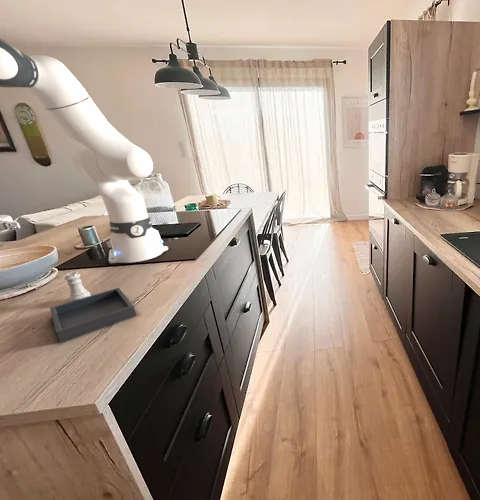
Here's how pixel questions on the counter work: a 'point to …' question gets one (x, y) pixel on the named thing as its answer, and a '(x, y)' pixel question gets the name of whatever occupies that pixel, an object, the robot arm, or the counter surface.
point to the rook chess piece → (76, 287)
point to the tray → (91, 313)
